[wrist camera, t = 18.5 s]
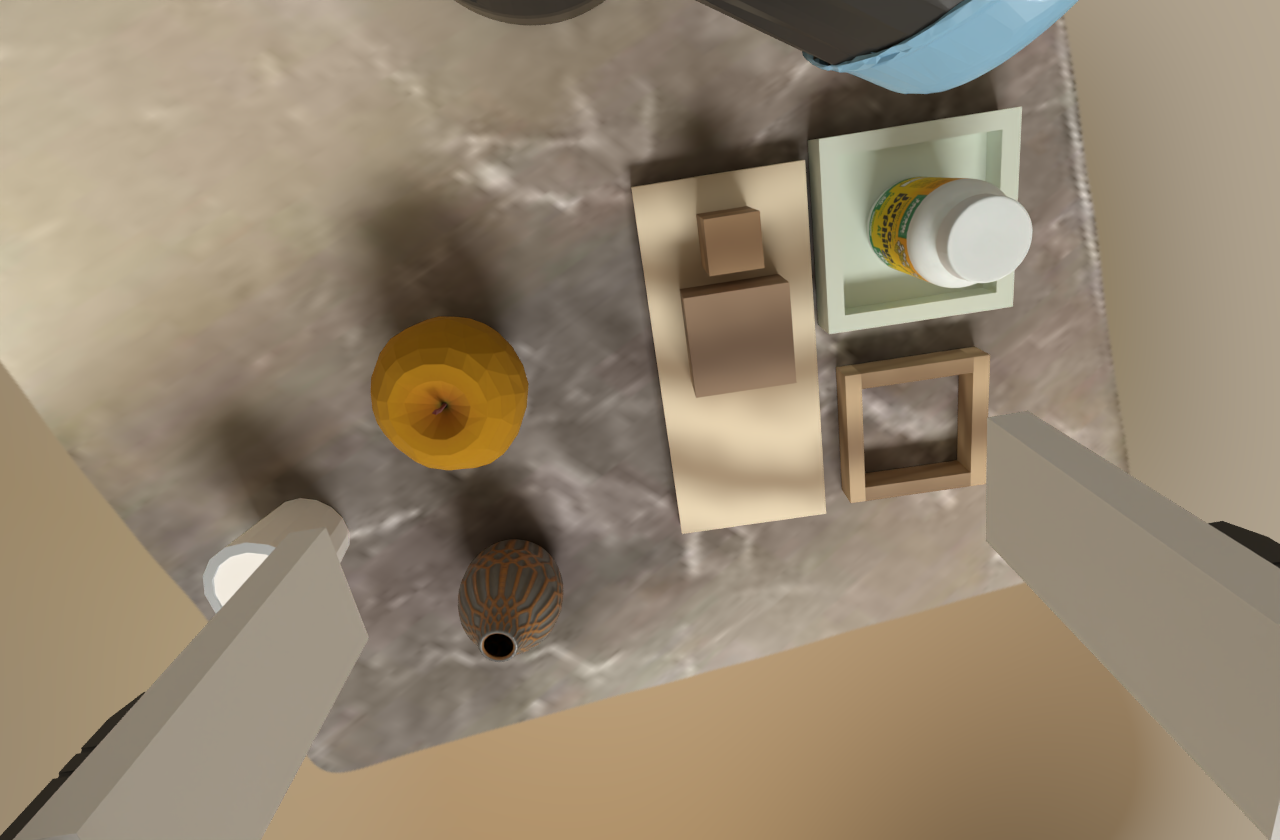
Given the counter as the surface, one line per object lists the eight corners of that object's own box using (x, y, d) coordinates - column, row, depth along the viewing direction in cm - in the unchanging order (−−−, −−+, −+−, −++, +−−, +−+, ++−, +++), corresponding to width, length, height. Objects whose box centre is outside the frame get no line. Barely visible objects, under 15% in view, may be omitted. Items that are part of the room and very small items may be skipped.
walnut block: (679, 289, 41) (683, 298, 38) (778, 273, 41) (789, 282, 38) (691, 382, 43) (696, 397, 41) (785, 368, 43) (796, 383, 40)
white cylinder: (273, 578, 49) (219, 642, 43) (247, 493, 47) (186, 547, 40) (367, 572, 49) (328, 635, 43) (347, 486, 47) (302, 540, 40)
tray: (807, 140, 40) (818, 139, 37) (998, 109, 39) (1022, 106, 37) (818, 324, 43) (829, 334, 41) (991, 298, 43) (1012, 306, 41)
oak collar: (835, 367, 45) (845, 376, 43) (974, 346, 44) (990, 355, 42) (841, 489, 48) (850, 503, 46) (971, 471, 47) (985, 483, 46)
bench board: (631, 186, 40) (631, 190, 35) (799, 160, 40) (824, 160, 35) (680, 525, 48) (686, 565, 44) (821, 505, 48) (843, 543, 43)
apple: (549, 427, 46) (532, 487, 37) (416, 440, 46) (369, 503, 37) (528, 293, 42) (503, 325, 34) (385, 307, 43) (326, 343, 34)
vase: (477, 608, 51) (449, 694, 42) (465, 526, 48) (432, 601, 40) (570, 603, 51) (560, 689, 42) (562, 521, 48) (549, 595, 40)
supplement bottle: (948, 267, 42) (1037, 297, 33) (860, 271, 42) (926, 302, 33) (959, 173, 40) (1058, 177, 31) (867, 177, 40) (939, 182, 31)
